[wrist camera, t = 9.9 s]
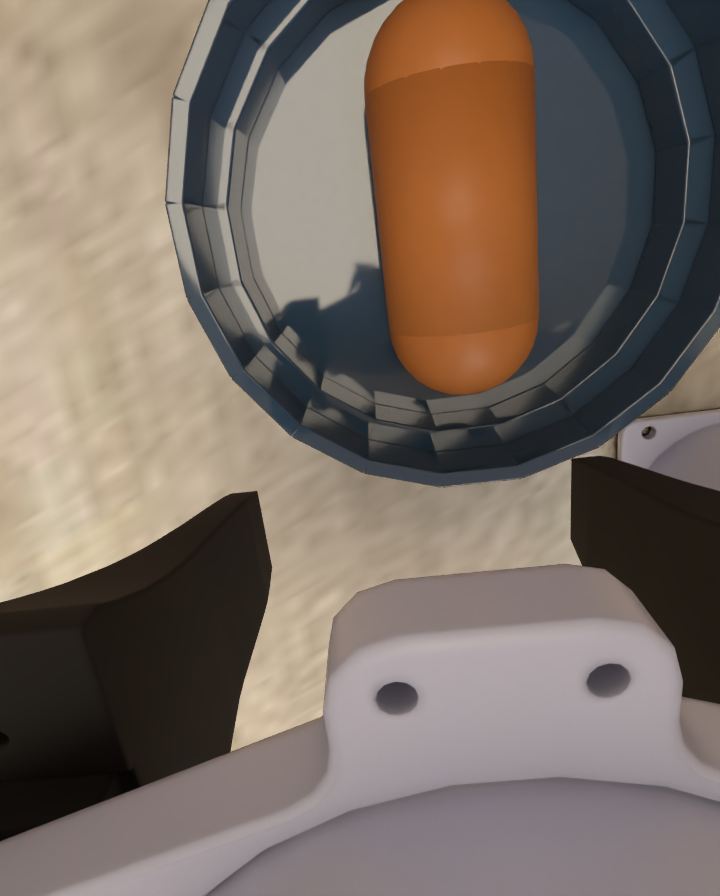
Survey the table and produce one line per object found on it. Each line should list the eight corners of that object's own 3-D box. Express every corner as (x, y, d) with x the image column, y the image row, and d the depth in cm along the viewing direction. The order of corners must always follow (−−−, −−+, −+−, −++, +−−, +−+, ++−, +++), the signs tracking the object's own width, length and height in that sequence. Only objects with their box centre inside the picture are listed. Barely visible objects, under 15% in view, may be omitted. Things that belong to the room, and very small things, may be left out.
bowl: (702, -119, 16) (818, -240, 12) (668, 412, 22) (741, 454, 18) (158, -32, 17) (92, -117, 13) (257, 460, 23) (233, 511, 19)
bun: (355, 28, 17) (352, -40, 13) (508, 5, 17) (557, -72, 13) (393, 383, 21) (401, 422, 17) (519, 368, 21) (560, 403, 17)
